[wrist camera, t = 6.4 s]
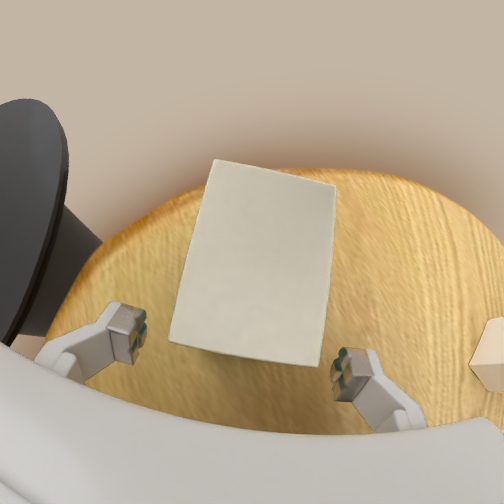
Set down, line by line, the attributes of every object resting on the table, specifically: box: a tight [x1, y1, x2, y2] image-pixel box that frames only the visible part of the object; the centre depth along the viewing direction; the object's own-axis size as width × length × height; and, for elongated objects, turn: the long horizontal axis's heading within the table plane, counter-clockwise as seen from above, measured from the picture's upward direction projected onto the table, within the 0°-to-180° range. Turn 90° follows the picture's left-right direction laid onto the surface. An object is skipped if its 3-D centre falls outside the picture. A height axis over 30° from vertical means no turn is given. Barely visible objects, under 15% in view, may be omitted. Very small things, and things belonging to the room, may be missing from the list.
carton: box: [168, 159, 337, 368], centre depth 15 cm, size 5×7×11 cm
